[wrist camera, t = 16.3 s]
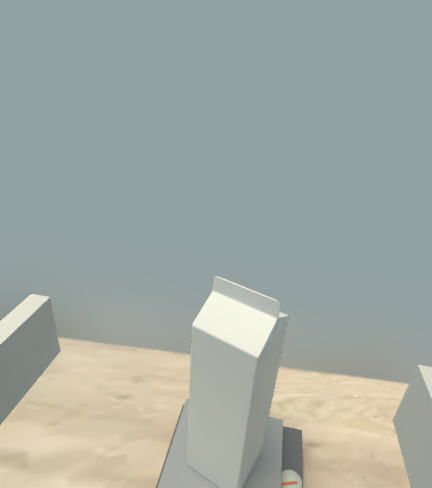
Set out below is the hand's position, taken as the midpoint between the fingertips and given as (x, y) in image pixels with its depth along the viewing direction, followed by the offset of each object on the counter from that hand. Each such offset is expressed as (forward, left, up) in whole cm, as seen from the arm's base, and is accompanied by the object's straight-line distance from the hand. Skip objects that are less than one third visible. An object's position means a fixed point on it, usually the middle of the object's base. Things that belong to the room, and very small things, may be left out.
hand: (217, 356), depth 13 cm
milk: (0, -14, -28) cm, 31 cm away
